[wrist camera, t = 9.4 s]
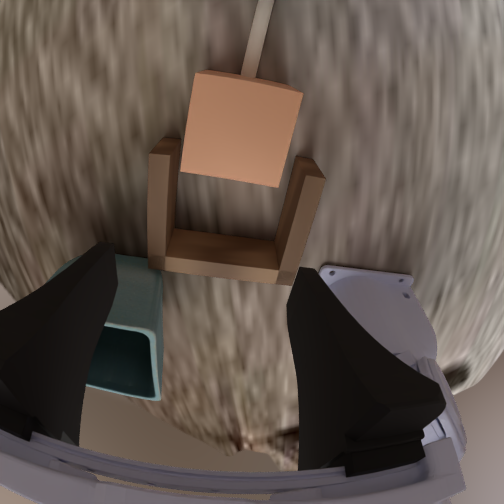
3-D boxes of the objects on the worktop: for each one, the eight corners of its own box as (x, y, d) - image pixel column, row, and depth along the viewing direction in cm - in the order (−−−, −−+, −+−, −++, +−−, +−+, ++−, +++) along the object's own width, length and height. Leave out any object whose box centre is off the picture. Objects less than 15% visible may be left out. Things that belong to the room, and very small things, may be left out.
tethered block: (319, -39, 12) (350, -70, 7) (269, 157, 20) (280, 196, 15) (237, -56, 11) (237, -96, 6) (193, 144, 19) (176, 179, 14)
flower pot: (75, 226, 22) (22, 304, 15) (178, 240, 23) (155, 332, 16) (89, 303, 27) (58, 379, 20) (175, 318, 28) (161, 402, 21)
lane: (313, 159, 20) (326, 179, 17) (285, 255, 24) (291, 285, 21) (163, 137, 18) (149, 153, 16) (158, 239, 23) (148, 268, 20)
